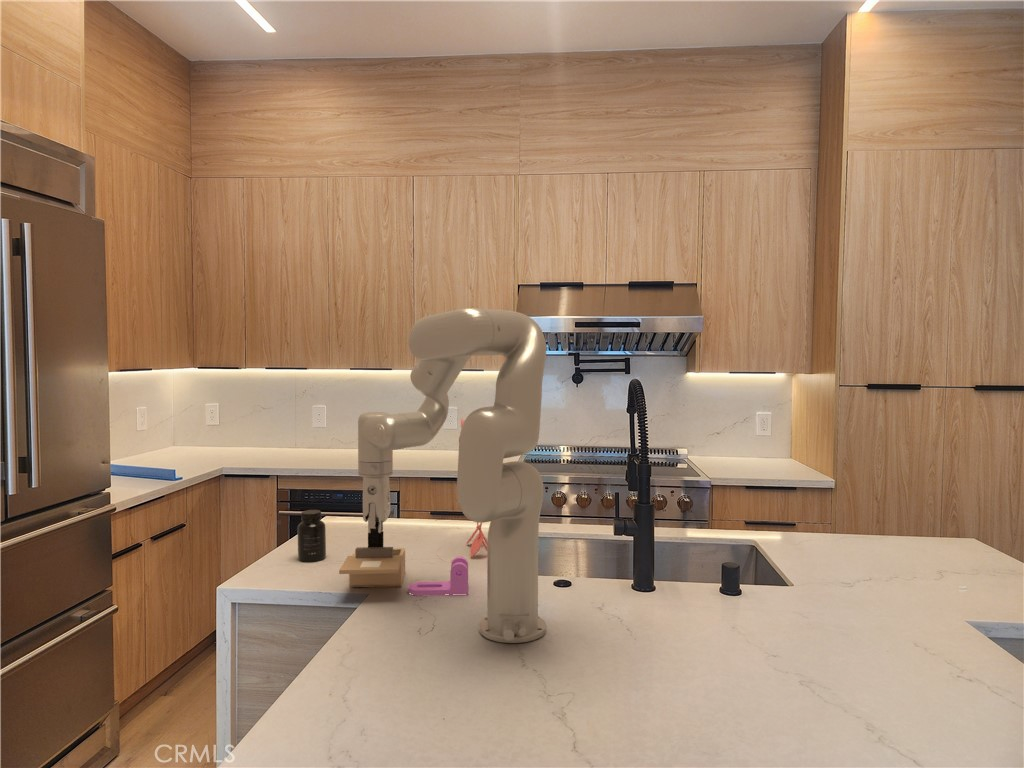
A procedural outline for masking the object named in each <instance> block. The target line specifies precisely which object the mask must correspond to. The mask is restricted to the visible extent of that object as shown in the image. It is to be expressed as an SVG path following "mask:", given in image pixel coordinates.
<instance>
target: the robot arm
mask: <svg viewBox="0 0 1024 768" xmlns="http://www.w3.org/2000/svg"><path fill="white" fill-rule="evenodd" d="M545 337H546V336H545V335H544V332H543V330H542V328H541V327H540V325H539V323H537V321H535V320H534V319H533V318H532V317H531V316H528V315H526V314H524V313H522V312H518V311H514V310H506V309H497V308H495V309H492V308H491V309H490V308H479V307H467V308H459V309H455V310H451V311H447V312H441V313H437V314H431V315H430V314H429V315H426V316H424V317H421V318H420V319H418V320H417V321H415V323H414V324H413V326H412V328H411V330H409V335H408V341H407V342H408V348H409V351H410V353H411V355H413V357H415V358H416V359H417V361H416V363H415V365H414V366H413V368H412V370H411V371H410V374H409V375H410V377H409V378H410V382H411V384H412V385H413V387H414V388H415V389H416V390H417V391H418V393H421V395H423V396H425V399H424V400H423V402H422V404H421V405H420V407H419V408H418V410H417V411H415V412H414V411H413V412H404V413H403V412H402V413H394V414H393V413H392V414H390V413H388V412H382V411H381V412H380V411H376V412H375V411H372V412H371V411H370V412H364V413H361V414H360V415H359V416H358V421H357V466H358V467H357V468H358V469H357V472H358V473H357V475H358V477H361V478H362V517H363V518H362V520H363V521H364V522H365V523H367V547H384V531H383V530H384V523H385V522H386V521H387V520H388V518H389V517H390V514H391V490H390V487H391V486H390V476H393V472H394V471H393V470H394V467H393V466H394V463H393V458H394V457H393V456H394V453H393V452H394V451H396V450H397V451H398V450H403V449H407V448H408V449H409V448H416V447H422V446H424V445H425V446H426V445H427V444H429V442H431V441H432V440H433V439H434V438H435V437H436V435H438V433H439V431H440V430H441V428H443V426H444V424H445V422H446V420H447V418H448V415H449V408H450V407H449V406H450V405H449V403H450V402H449V400H450V399H449V396H448V392H449V390H450V389H451V387H452V386H453V385H454V383H455V381H456V379H457V378H458V376H459V375H460V373H462V370H463V369H464V368H465V366H466V364H467V362H468V361H469V360H470V358H471V356H477V357H478V356H503V357H504V358H505V359H504V361H503V363H502V365H501V367H500V369H499V372H498V375H497V377H496V382H495V395H494V403H493V405H492V406H484V407H480V408H477V409H474V410H473V411H472V412H471V413H469V414H468V415H467V416H466V418H465V419H464V420H463V421H464V423H463V426H462V428H461V429H460V432H459V436H460V439H459V438H458V456H457V457H458V459H457V461H458V462H457V475H456V477H457V478H456V483H457V484H456V494H457V495H456V497H457V502H458V506H459V509H460V510H461V512H462V514H463V515H464V516H465V517H466V519H468V520H469V521H472V522H475V523H477V522H478V524H481V523H482V524H483V523H488V522H490V523H489V526H488V530H487V531H488V532H487V538H488V539H486V540H487V544H486V546H487V551H486V553H487V554H486V555H487V557H486V558H487V561H486V565H487V566H486V567H487V568H486V569H487V570H486V573H487V576H486V577H487V579H486V580H487V583H486V584H487V587H486V589H487V591H486V592H487V593H486V594H487V596H486V597H487V599H486V600H487V601H486V602H487V606H486V607H487V609H486V611H487V612H486V613H487V614H486V615H487V616H485V617H484V618H482V619H481V620H480V621H479V624H478V627H479V628H478V630H479V631H478V632H479V633H480V635H481V636H483V637H484V638H486V639H488V640H490V641H494V642H498V643H504V644H521V643H527V642H531V641H532V642H533V641H535V640H538V639H539V638H542V637H543V636H544V635H545V634H546V632H547V623H546V621H545V619H543V618H542V617H540V616H539V529H540V527H539V526H540V517H541V511H542V506H543V500H544V482H543V478H542V476H541V474H540V472H539V471H538V469H537V468H536V467H534V465H532V464H530V463H527V462H526V461H525V462H524V461H518V460H517V461H516V460H515V461H507V462H504V459H508V458H514V457H519V456H523V455H526V454H528V453H529V454H530V452H532V451H533V450H535V448H536V447H537V445H538V442H539V439H540V430H541V412H542V397H543V380H544V372H545V366H546V359H547V344H546V343H547V342H546V338H545Z"/></svg>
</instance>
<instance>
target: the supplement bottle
mask: <svg viewBox="0 0 1024 768" xmlns="http://www.w3.org/2000/svg"><path fill="white" fill-rule="evenodd" d="M300 514H301V518H300V519H301V522H300V523H298V525H297V557H298V560H299V561H300V562H304V563H314V562H320V561H323V560H324V559H325V558H326V557H327V543H326V542H327V541H326V540H327V539H326V536H327V535H326V524H325V522H324V521H323V520H321V519H322V511H321V510H319V509H308V510H303V511H302V512H301V513H300Z"/></svg>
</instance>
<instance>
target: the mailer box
mask: <svg viewBox="0 0 1024 768" xmlns="http://www.w3.org/2000/svg"><path fill="white" fill-rule="evenodd" d="M393 555H403V559H402V562H401V565H400V568H399V571H398V573H369V574H348V577H349V578H348V579H349V580H348V584H349V585H348V586H349V587H376V588H399V587H398V586H401V587H402V585H403V583H402V582H404V580H403V579H405V576H406V548H402V547H401V548H393ZM351 556H356V554H355V551H354V552H353V554H352V555H351ZM404 575H405V576H404ZM395 586H397V587H395ZM349 587H348V588H349Z"/></svg>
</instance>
